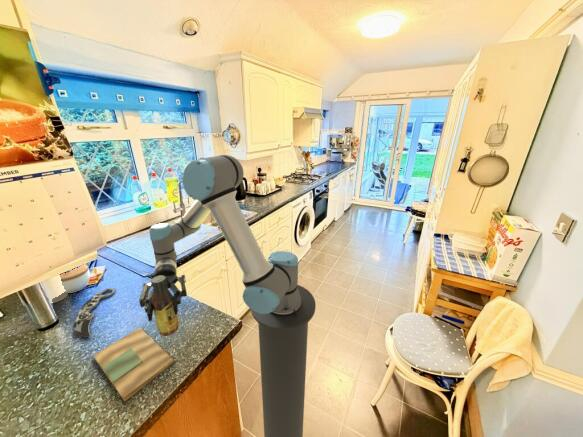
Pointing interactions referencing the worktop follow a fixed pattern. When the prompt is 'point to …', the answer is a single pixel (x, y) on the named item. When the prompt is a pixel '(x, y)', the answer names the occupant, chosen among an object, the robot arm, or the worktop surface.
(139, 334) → the chopping board
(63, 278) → the lidded bowl
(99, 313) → the worktop surface
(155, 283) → the sauce bottle
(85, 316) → the knife
